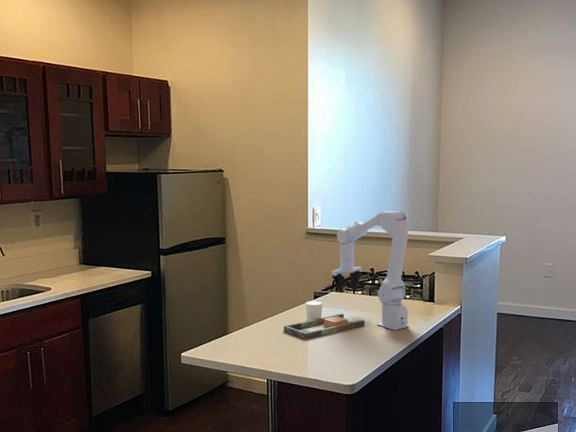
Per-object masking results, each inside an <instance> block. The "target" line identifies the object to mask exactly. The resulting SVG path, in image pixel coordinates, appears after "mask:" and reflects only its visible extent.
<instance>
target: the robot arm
mask: <svg viewBox="0 0 576 432" xmlns="http://www.w3.org/2000/svg"><path fill="white" fill-rule="evenodd" d="M408 221H409V219H408V217H407V215H406V213H405V212H404V211H402V210H398V209H397V210H395V211H394V210H393V211H382V212H381V213H376V215H374V216H373V217H371V218H369V219H368V220H366V221H365V222H363V221H358V220H357V221H355V222H354V224H353V225H349V226H347V227H346V229H345V228H344V229H342V228H341V229H339V230H338V231H337V233H336V239H337V241H338V243H339V268H337V269H334V270H333V269H332V271H331V276H332V279H333V281H334V282H335V286H336V289H337V292H338V293H341V294H342V293H343V290H344V281H345V274H346V275H347V274H349V277H350V283H351V285H350V287H351V290H352V291H353V290H354V291H356V290H357V288H358V283H359V281H360V280H361V277H362V274H363V273H362V270H363V269H362V266H355V245H356V241H357V239H360V238H362V237H364V236H365V235H367V234H368V231H369V230H372V229H373V228H375V227H377V226H378V227H381V228H382V229H383V230H384V231H385V232H386V233H387V234H388V235H390V237H391V238H392V240H391V246H390V252H389V259H388V266H387V272H386V277H385V278H384V280H382V282H381V284H380V287H379V289H378V291H377V297H378V299H379V301H380V304H381V322H378V323H376V325H377V326H380V327H383V328H387V329H391V330H393V331H396V330H399V329H404V328H408V327H410V325H409V324H408V319H409V318H408V308H407V306H405V305H403V304H402V303H403V300H404V298H405V297H406V288H405V287H406V283H405V282H404V281H403V280H402V276H403V271H404V270H403V269H404V263H405V257H406V250H407V244H408V240H409V239H408V238H409V231H408V227H407V225H408Z"/></svg>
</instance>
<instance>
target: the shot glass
mask: <svg viewBox="0 0 576 432" xmlns="http://www.w3.org/2000/svg"><path fill="white" fill-rule="evenodd" d="M305 311H306V312H305V313H306V321H310V320H314V319H319V318H322V314H323V313H322V312H323V302H322V301H318V300H308V301H305Z"/></svg>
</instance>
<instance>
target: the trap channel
mask: <svg viewBox="0 0 576 432" xmlns="http://www.w3.org/2000/svg"><path fill="white" fill-rule="evenodd" d="M335 316H339V317H342V318H345V317H344V313H340V314H339V313H338V314H334V315H329V316H325V317H321V318H319V319H314V320H310V321H308V320H306V321H301V322H297V323H291V324H286V325H284V326H283V332H284V331H285V333H287V334H290V335H293V336H296V337H298V338H301V339H304V340H310V339H312V338H316V337H321V336H325V335H329V334H333V333H338V332H343V331H346V330H351V329H355V328H356V329H357V328H360V327H363V326H365V323H366V322H365V320H364V319H362V320H355V321H351V320H348V323H347V324H342V325H338V326H334V327H326V328H322V329H321V328H320V329H316V330H313V331H310V330H306V329H304V328H308V327H313V326H317V325H324V319H326V318H331V317H335Z"/></svg>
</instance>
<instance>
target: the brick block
mask: <svg viewBox="0 0 576 432" xmlns="http://www.w3.org/2000/svg"><path fill="white" fill-rule="evenodd" d="M348 321H349V319H348V318H345V317H344V318H342V317H339V316H335V317H331V318H326V319H324V323H323V326H324V327H326V328H329V327H334V326H338V325H342V324H347V323H348Z"/></svg>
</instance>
